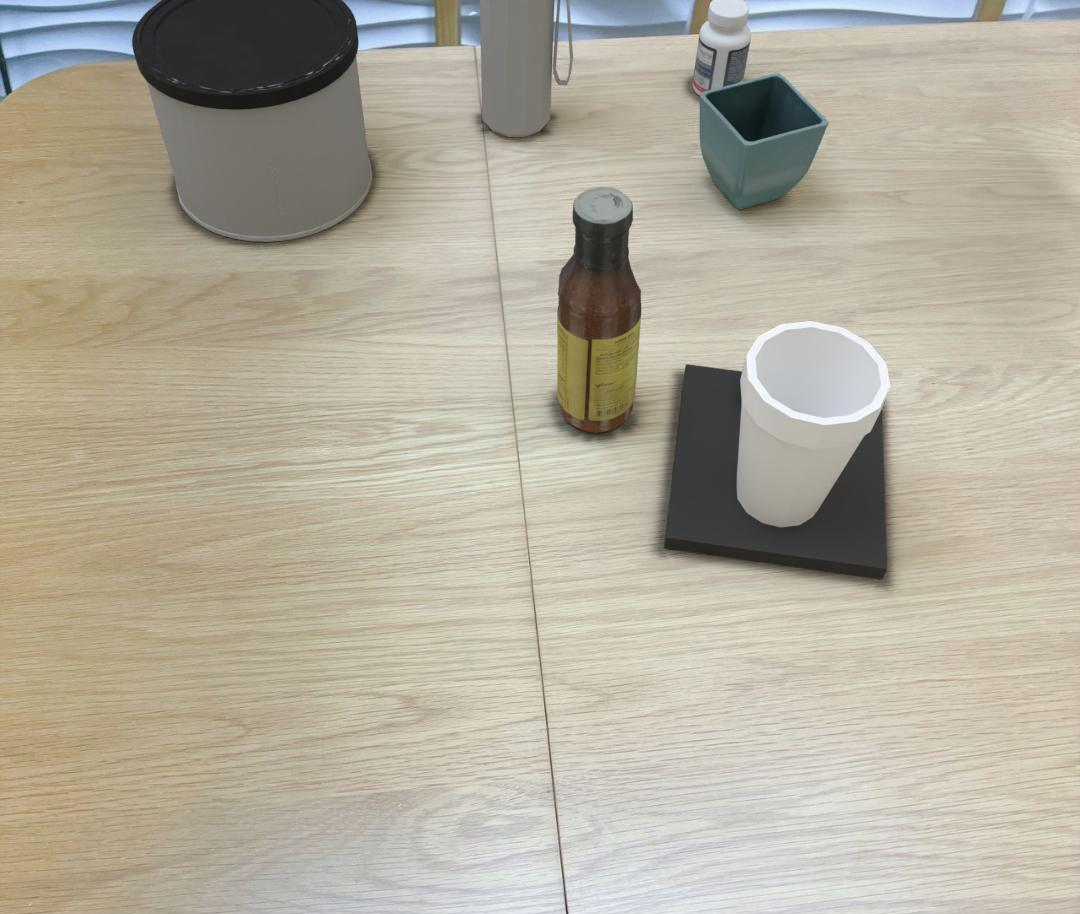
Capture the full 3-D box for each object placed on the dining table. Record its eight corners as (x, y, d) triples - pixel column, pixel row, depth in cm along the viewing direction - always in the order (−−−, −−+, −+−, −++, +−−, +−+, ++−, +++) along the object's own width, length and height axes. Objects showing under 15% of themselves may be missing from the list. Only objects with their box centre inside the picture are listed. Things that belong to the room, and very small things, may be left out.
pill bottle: (743, 77, 118) (758, -4, 110) (739, 105, 115) (755, 23, 107) (693, 72, 118) (706, -10, 111) (689, 99, 115) (701, 17, 108)
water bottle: (471, 137, 110) (463, -132, 90) (490, 94, 115) (487, -172, 94) (560, 151, 109) (572, -118, 89) (576, 107, 114) (592, -158, 93)
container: (237, 271, 98) (198, 120, 85) (140, 167, 106) (93, 16, 94) (412, 192, 105) (399, 43, 92) (308, 101, 113) (284, -47, 101)
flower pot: (729, 228, 103) (746, 144, 95) (684, 175, 107) (697, 91, 100) (809, 206, 105) (831, 122, 98) (761, 155, 110) (779, 71, 102)
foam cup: (819, 440, 85) (862, 315, 75) (858, 535, 80) (911, 415, 70) (701, 454, 84) (729, 329, 74) (733, 551, 79) (768, 431, 69)
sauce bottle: (641, 390, 90) (669, 186, 74) (621, 445, 87) (646, 243, 70) (565, 372, 91) (576, 167, 75) (542, 425, 88) (549, 222, 72)
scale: (876, 394, 90) (886, 368, 88) (882, 579, 80) (894, 556, 77) (684, 369, 92) (688, 343, 89) (663, 548, 81) (668, 524, 78)
